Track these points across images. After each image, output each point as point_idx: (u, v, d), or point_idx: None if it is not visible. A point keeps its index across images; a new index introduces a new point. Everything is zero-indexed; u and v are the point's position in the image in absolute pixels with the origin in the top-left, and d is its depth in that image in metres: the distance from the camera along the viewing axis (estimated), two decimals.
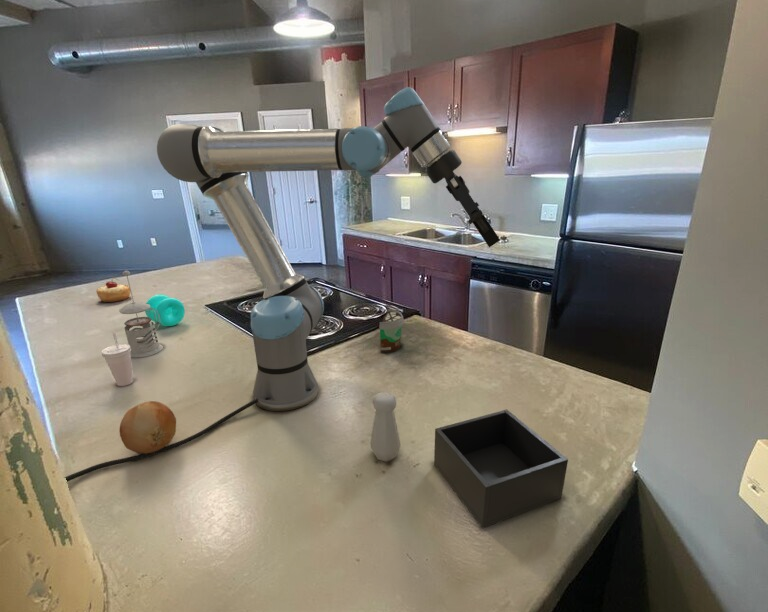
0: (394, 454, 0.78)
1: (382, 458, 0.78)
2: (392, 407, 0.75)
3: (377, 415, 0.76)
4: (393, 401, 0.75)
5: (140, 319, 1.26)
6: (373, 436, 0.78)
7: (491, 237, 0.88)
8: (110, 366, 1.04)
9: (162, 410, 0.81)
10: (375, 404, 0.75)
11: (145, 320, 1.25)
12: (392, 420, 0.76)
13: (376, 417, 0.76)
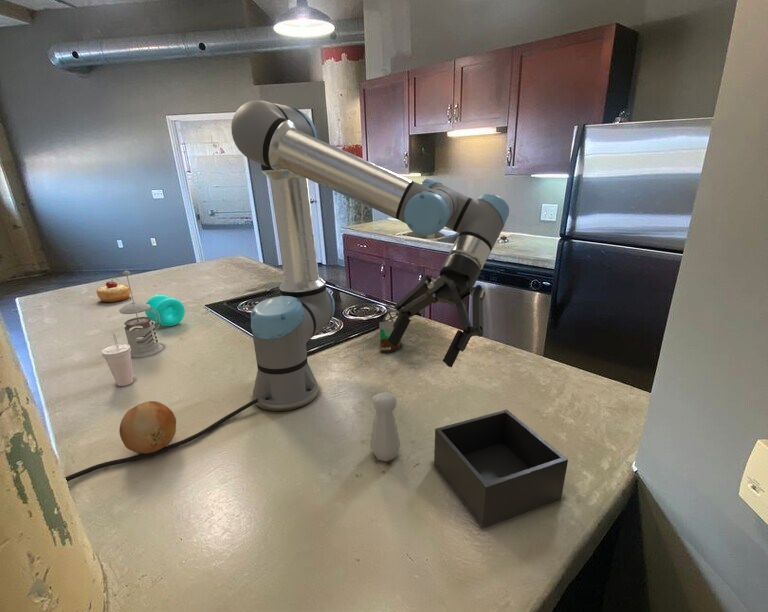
0: (394, 454, 0.78)
1: (382, 458, 0.78)
2: (392, 407, 0.75)
3: (377, 415, 0.76)
4: (393, 401, 0.75)
5: (140, 319, 1.26)
6: (373, 436, 0.78)
7: (452, 357, 0.76)
8: (110, 366, 1.04)
9: (162, 410, 0.81)
10: (375, 404, 0.75)
11: (145, 320, 1.25)
12: (392, 420, 0.76)
13: (376, 417, 0.76)
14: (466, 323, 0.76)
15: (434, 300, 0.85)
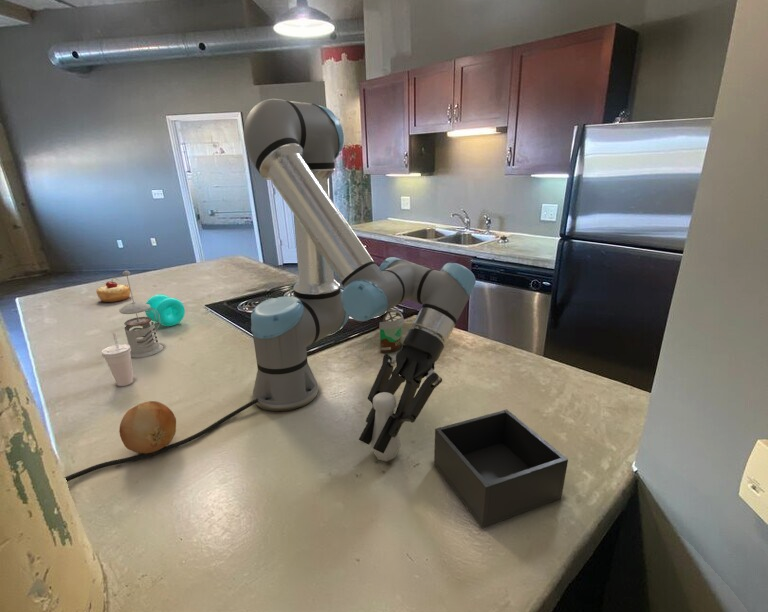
0: (394, 454, 0.78)
1: (382, 458, 0.78)
2: (392, 407, 0.75)
3: (377, 415, 0.76)
4: (393, 401, 0.75)
5: (140, 319, 1.26)
6: (373, 436, 0.78)
7: (384, 444, 0.75)
8: (110, 366, 1.04)
9: (162, 410, 0.81)
10: (375, 404, 0.75)
11: (145, 320, 1.25)
12: None
13: (376, 417, 0.76)
14: (400, 410, 0.75)
15: (402, 379, 0.81)
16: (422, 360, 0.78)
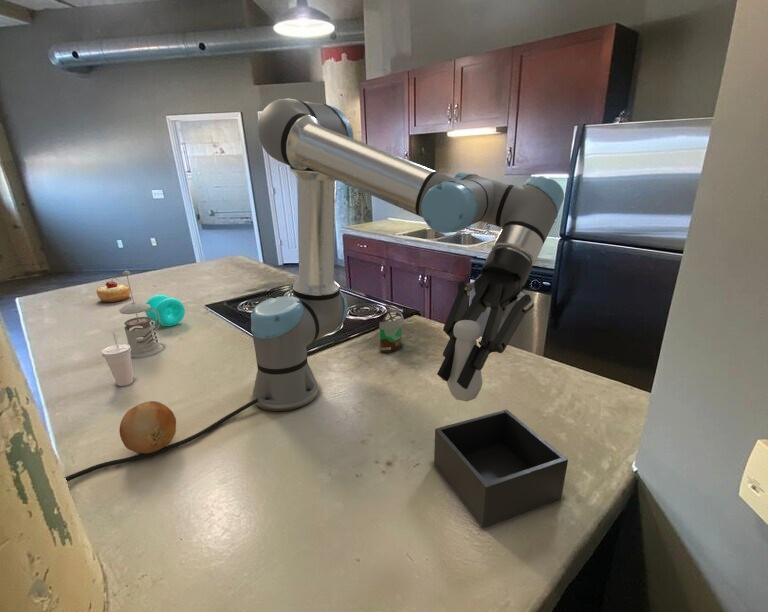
0: (476, 392, 0.67)
1: (462, 397, 0.67)
2: (478, 334, 0.64)
3: (459, 345, 0.65)
4: (479, 327, 0.64)
5: (140, 319, 1.26)
6: (453, 371, 0.67)
7: (468, 377, 0.64)
8: (110, 366, 1.04)
9: (162, 410, 0.81)
10: (458, 331, 0.64)
11: (145, 320, 1.25)
12: None
13: (457, 348, 0.66)
14: (487, 338, 0.64)
15: (482, 308, 0.70)
16: (509, 283, 0.67)
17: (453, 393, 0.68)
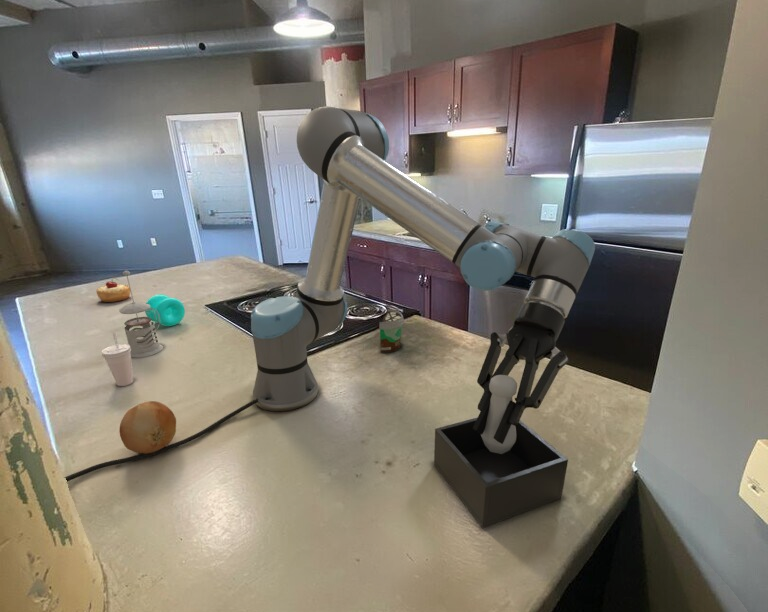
0: (511, 445, 0.68)
1: (497, 450, 0.68)
2: (515, 391, 0.65)
3: (495, 400, 0.66)
4: (516, 384, 0.65)
5: (140, 319, 1.26)
6: (488, 425, 0.68)
7: (504, 433, 0.66)
8: (110, 366, 1.04)
9: (162, 410, 0.81)
10: (494, 387, 0.65)
11: (145, 320, 1.25)
12: None
13: (493, 403, 0.67)
14: (523, 394, 0.66)
15: (516, 360, 0.71)
16: (543, 338, 0.68)
17: (487, 445, 0.69)
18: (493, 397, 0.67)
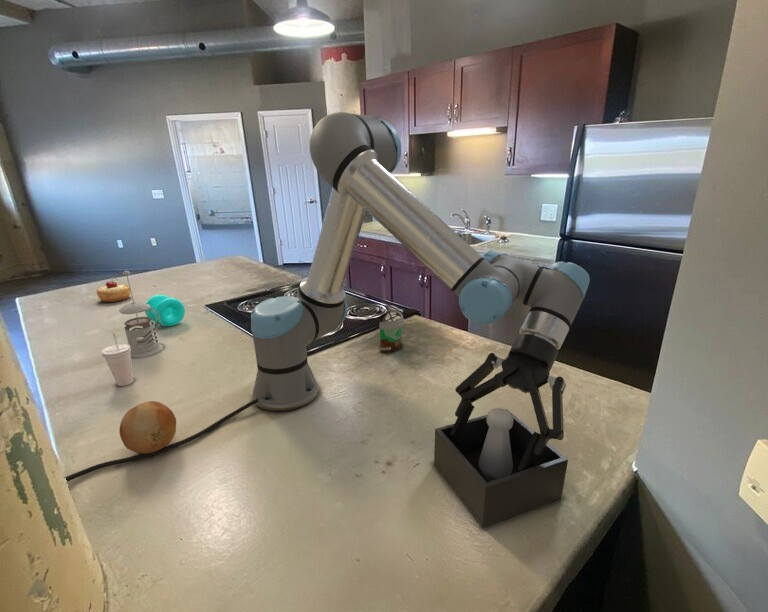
0: None
1: None
2: (511, 425, 0.67)
3: (492, 433, 0.69)
4: (512, 418, 0.67)
5: (140, 319, 1.26)
6: (485, 456, 0.70)
7: (528, 464, 0.66)
8: (110, 366, 1.04)
9: (162, 410, 0.81)
10: (491, 421, 0.67)
11: (145, 320, 1.25)
12: (508, 439, 0.69)
13: (490, 436, 0.69)
14: (544, 424, 0.66)
15: (502, 384, 0.74)
16: (534, 371, 0.71)
17: (485, 476, 0.71)
18: (490, 430, 0.69)
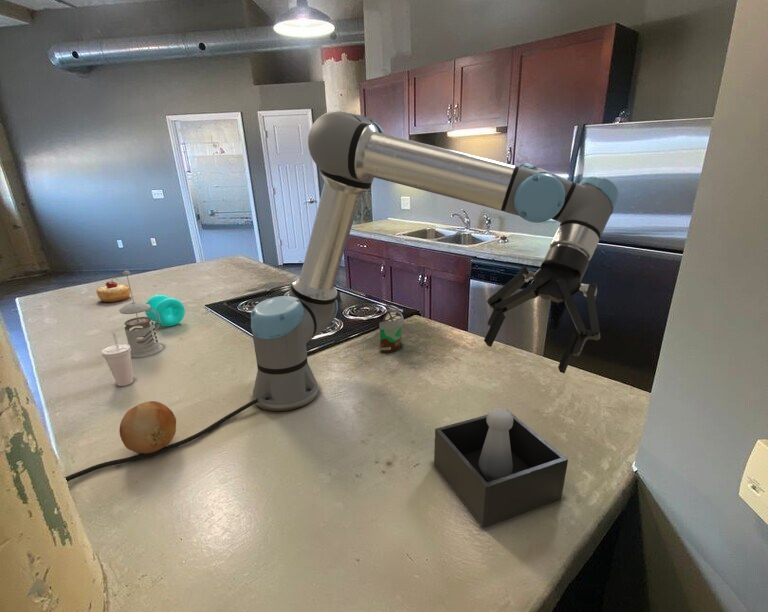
0: None
1: None
2: (511, 425, 0.67)
3: (492, 433, 0.69)
4: (512, 418, 0.67)
5: (140, 319, 1.26)
6: (485, 456, 0.70)
7: (567, 363, 0.70)
8: (110, 366, 1.04)
9: (162, 410, 0.81)
10: (491, 421, 0.67)
11: (145, 320, 1.25)
12: (508, 439, 0.69)
13: (490, 436, 0.69)
14: (582, 325, 0.69)
15: (534, 295, 0.78)
16: (567, 281, 0.74)
17: (485, 476, 0.71)
18: (490, 430, 0.69)
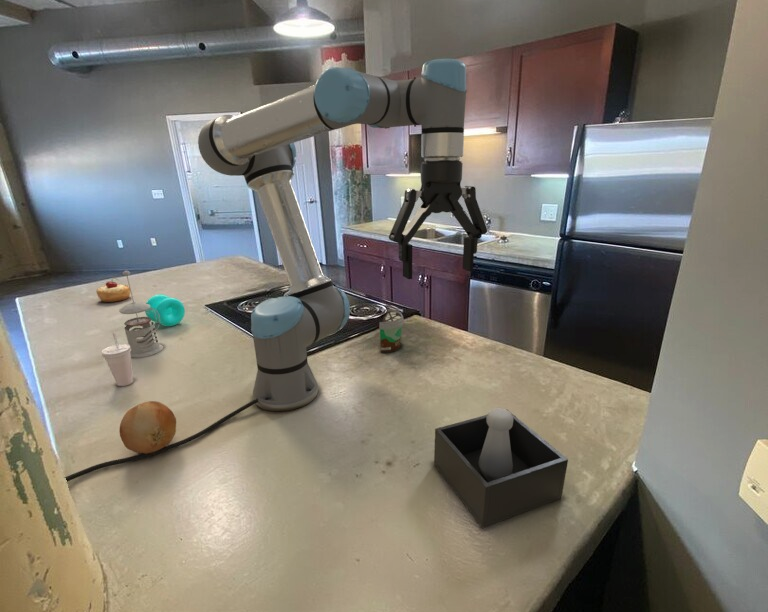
0: None
1: None
2: (511, 425, 0.67)
3: (492, 433, 0.69)
4: (512, 418, 0.67)
5: (140, 319, 1.26)
6: (485, 456, 0.70)
7: None
8: (110, 366, 1.04)
9: (162, 410, 0.81)
10: (491, 421, 0.67)
11: (145, 320, 1.25)
12: (508, 439, 0.69)
13: (490, 436, 0.69)
14: (475, 230, 0.82)
15: None
16: (453, 192, 0.77)
17: (485, 476, 0.71)
18: (490, 430, 0.69)
